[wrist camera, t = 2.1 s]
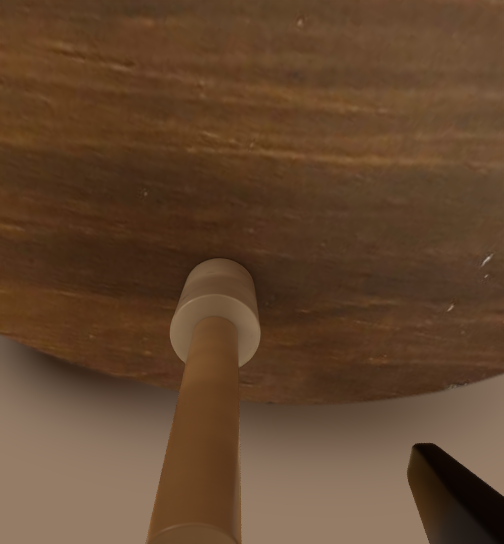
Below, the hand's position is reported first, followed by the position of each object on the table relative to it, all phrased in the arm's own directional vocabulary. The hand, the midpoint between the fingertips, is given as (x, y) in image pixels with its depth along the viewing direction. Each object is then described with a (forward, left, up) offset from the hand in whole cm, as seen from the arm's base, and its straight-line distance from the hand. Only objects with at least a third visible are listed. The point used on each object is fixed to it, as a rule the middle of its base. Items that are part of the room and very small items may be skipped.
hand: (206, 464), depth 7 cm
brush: (0, 0, -9) cm, 9 cm away
